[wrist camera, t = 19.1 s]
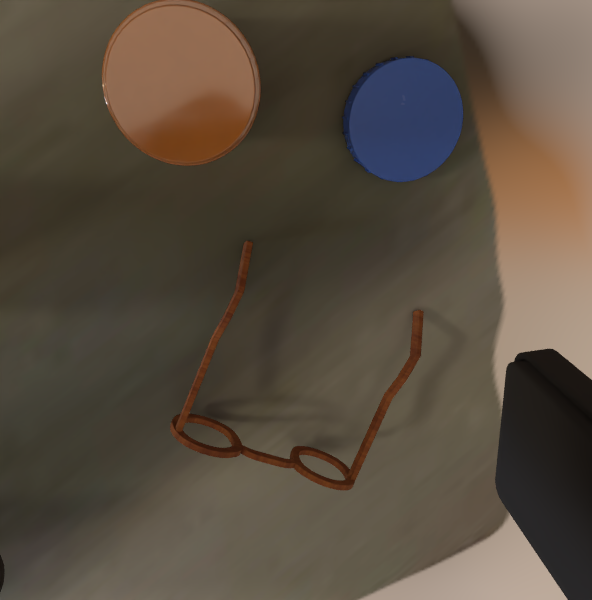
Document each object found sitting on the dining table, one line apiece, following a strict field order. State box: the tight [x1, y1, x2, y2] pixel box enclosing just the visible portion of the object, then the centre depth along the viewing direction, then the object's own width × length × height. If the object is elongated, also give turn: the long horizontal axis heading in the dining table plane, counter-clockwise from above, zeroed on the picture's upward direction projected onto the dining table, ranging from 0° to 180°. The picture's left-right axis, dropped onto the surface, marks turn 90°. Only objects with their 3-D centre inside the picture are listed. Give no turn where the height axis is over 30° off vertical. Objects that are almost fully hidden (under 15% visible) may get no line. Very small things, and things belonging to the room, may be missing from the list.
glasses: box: [170, 241, 423, 490], centre depth 35 cm, size 13×13×5 cm
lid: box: [342, 56, 463, 182], centre depth 31 cm, size 7×7×2 cm
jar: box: [102, 0, 261, 166], centre depth 24 cm, size 6×6×10 cm
